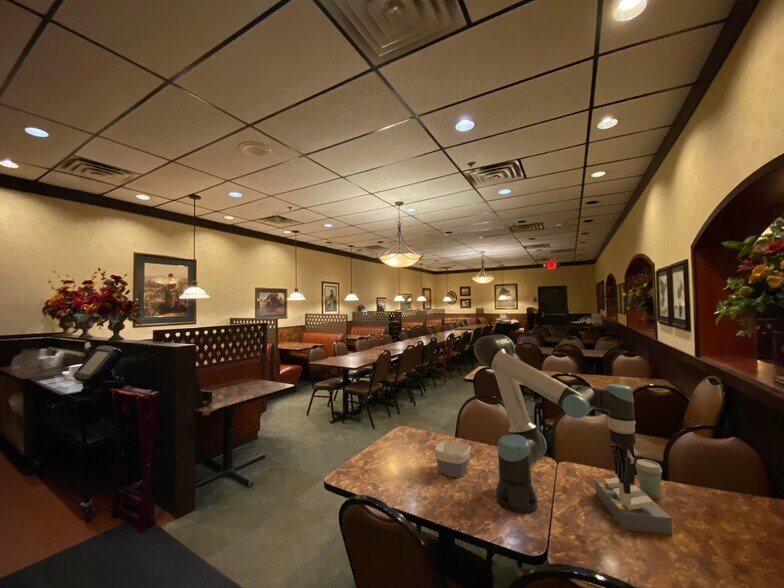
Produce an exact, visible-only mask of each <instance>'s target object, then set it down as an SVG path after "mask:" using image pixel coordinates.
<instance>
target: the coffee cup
mask: <svg viewBox="0 0 784 588" xmlns="http://www.w3.org/2000/svg"><path fill="white" fill-rule="evenodd" d="M662 469H663V468H662V466H661V465H660V464H659V463H657V462H656V461H653V460H649V459H645V458H643V459H642V458H641V459H640V458H639V459H637V462H636V465H635V471H636V474H637V478H638V479H637V480H638V484H639V488H640V489H641V490H642V491H643V492H644V493H646V494H647V495H648V496H649V497H650V498H651V499H652V500H657V499H658V500H659V499H660V498H661V486H662V485H661V484H662V483H661V482H662V473H663V470H662Z"/></svg>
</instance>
